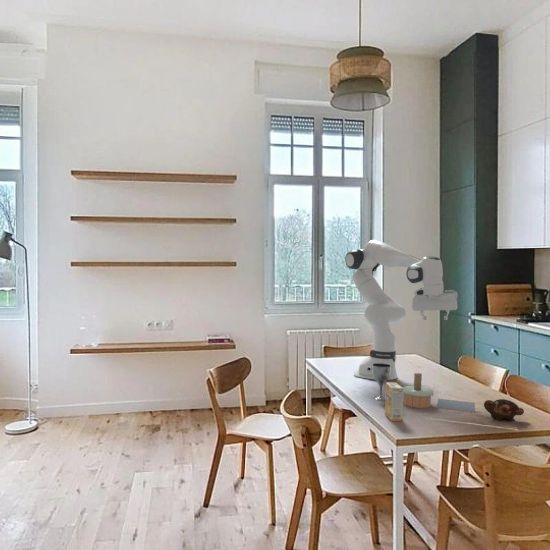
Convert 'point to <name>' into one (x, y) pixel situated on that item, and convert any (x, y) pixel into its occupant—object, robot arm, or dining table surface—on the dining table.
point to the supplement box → (394, 401)
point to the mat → (456, 405)
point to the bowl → (417, 401)
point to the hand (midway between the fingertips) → (435, 319)
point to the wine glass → (381, 376)
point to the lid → (418, 388)
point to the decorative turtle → (503, 409)
